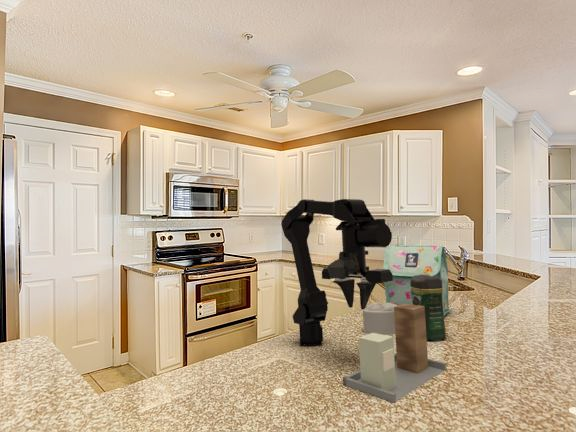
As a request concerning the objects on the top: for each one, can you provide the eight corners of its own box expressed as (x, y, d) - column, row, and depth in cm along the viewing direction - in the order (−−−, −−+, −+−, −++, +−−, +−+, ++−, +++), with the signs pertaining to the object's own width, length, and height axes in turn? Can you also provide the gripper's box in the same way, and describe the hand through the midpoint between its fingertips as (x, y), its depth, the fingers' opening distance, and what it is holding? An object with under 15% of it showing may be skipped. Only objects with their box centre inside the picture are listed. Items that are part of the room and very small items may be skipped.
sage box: (361, 387, 74) (358, 337, 74) (375, 379, 77) (372, 332, 78) (383, 394, 70) (380, 342, 71) (397, 386, 73) (394, 337, 74)
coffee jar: (451, 340, 105) (446, 276, 106) (425, 342, 103) (421, 277, 104) (432, 331, 114) (428, 272, 115) (409, 333, 113) (405, 274, 114)
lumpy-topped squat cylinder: (409, 332, 115) (407, 304, 116) (374, 337, 111) (372, 308, 112) (390, 324, 125) (388, 299, 126) (357, 329, 121) (355, 303, 121)
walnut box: (396, 367, 84) (392, 306, 84) (407, 362, 87) (403, 303, 88) (417, 373, 80) (413, 309, 80) (428, 367, 83) (424, 306, 84)
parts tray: (343, 387, 75) (342, 377, 76) (399, 360, 90) (398, 351, 90) (393, 405, 67) (393, 394, 67) (446, 372, 81) (446, 363, 81)
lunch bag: (382, 315, 140) (378, 245, 142) (395, 307, 154) (392, 244, 155) (444, 320, 127) (439, 244, 129) (453, 311, 141) (449, 242, 142)
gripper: (306, 249, 95) (308, 309, 94) (365, 248, 81) (368, 319, 80) (333, 247, 102) (336, 302, 101) (392, 246, 88) (395, 310, 87)
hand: (356, 308), depth 92 cm, fingers open, 4 cm apart
